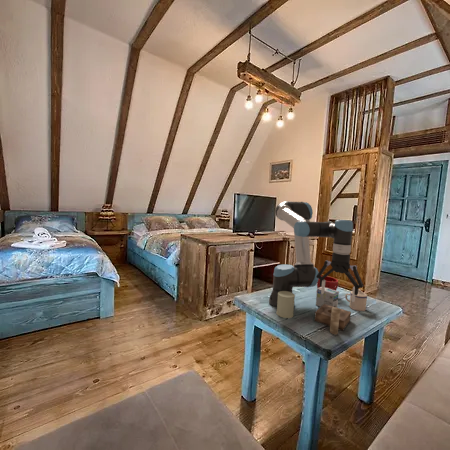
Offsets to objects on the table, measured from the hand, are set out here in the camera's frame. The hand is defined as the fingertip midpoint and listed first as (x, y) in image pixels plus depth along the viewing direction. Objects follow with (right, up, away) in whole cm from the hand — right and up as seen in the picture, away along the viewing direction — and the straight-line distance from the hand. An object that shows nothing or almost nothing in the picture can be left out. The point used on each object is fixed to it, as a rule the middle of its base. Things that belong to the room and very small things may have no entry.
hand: (337, 297), depth 116 cm
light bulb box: (+8, -15, +31) cm, 36 cm away
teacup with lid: (+25, -16, +32) cm, 44 cm away
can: (-20, -15, +19) cm, 32 cm away
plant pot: (+15, -14, +50) cm, 54 cm away
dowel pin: (-1, -18, +2) cm, 18 cm away
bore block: (+4, -17, +14) cm, 22 cm away
